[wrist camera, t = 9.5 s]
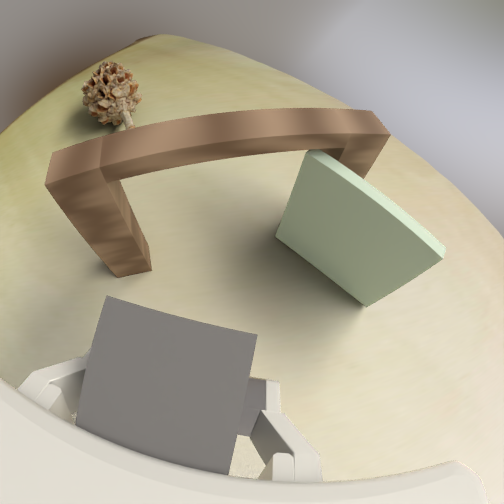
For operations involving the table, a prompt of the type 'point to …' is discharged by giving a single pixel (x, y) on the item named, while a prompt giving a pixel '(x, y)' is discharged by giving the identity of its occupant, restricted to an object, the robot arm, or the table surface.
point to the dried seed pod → (112, 94)
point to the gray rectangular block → (166, 385)
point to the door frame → (191, 152)
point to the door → (354, 231)
